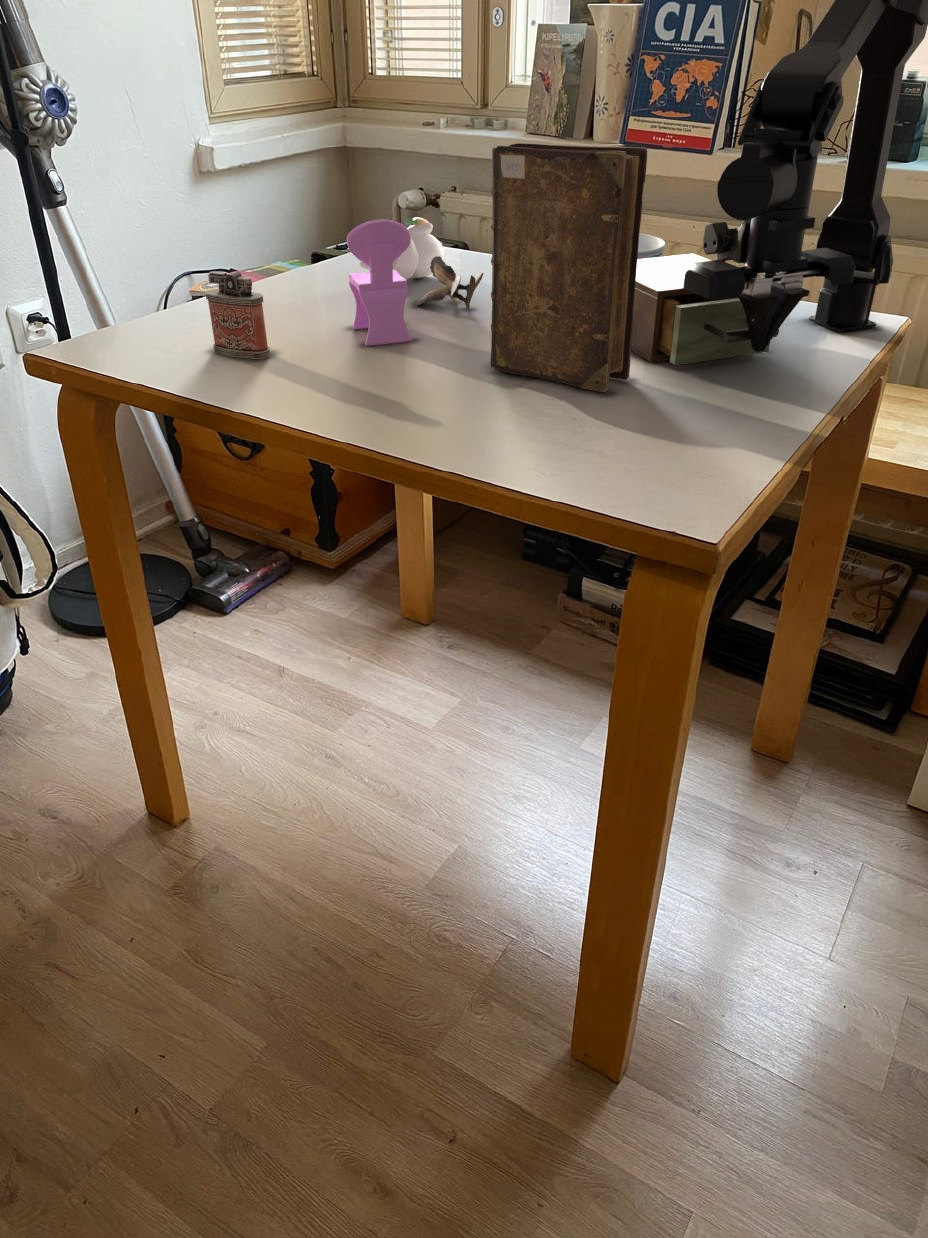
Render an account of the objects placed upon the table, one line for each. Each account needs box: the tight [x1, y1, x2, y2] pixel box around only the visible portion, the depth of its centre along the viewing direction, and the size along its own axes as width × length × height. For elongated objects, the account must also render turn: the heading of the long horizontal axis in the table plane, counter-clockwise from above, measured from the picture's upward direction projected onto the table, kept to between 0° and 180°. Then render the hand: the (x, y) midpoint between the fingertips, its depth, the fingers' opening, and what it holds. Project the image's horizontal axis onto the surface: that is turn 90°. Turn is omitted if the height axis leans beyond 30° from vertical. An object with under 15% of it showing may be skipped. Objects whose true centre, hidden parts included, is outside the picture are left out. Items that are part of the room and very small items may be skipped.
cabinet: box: [631, 253, 712, 363], centre depth 123 cm, size 16×15×9 cm
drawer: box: [658, 294, 780, 366], centre depth 117 cm, size 20×13×7 cm
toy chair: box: [346, 218, 413, 346], centre depth 124 cm, size 8×9×15 cm
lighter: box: [204, 270, 271, 360], centre depth 119 cm, size 8×3×10 cm, turn 65°
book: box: [489, 142, 648, 393], centre depth 107 cm, size 17×7×25 cm, turn 54°
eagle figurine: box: [415, 256, 485, 311], centre depth 138 cm, size 8×7×9 cm
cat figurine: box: [359, 216, 445, 281], centre depth 151 cm, size 10×8×15 cm
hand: (758, 350), depth 108 cm, fingers closed, pressing on drawer
